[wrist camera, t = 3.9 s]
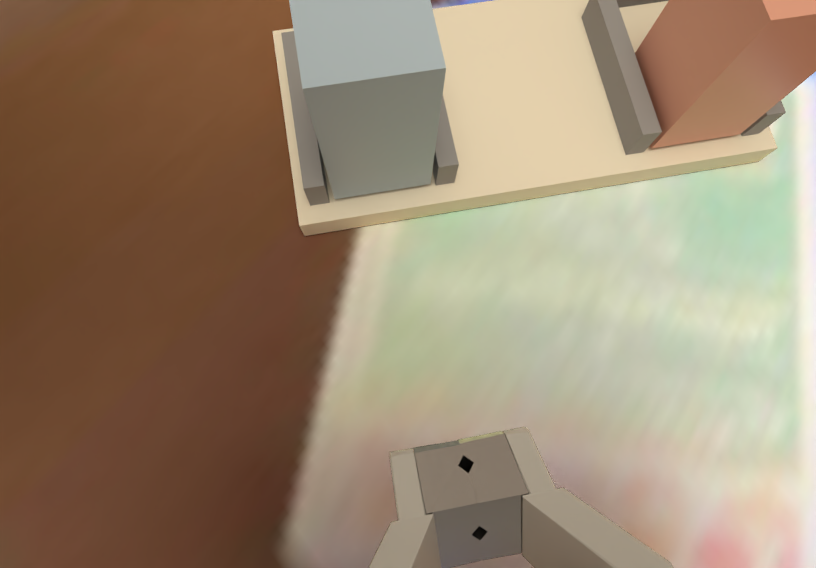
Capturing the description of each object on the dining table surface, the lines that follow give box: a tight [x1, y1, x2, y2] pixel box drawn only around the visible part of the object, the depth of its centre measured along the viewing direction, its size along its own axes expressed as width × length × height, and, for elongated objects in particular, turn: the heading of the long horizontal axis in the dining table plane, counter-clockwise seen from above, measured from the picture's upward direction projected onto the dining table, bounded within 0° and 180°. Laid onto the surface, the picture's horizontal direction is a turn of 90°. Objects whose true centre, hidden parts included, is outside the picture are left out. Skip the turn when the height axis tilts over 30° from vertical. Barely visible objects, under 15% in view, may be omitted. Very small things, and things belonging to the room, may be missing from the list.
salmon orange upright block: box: [635, 0, 816, 148], centre depth 24 cm, size 5×5×9 cm
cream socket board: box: [273, 0, 786, 236], centre depth 28 cm, size 12×26×4 cm, turn 100°
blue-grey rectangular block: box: [289, 0, 446, 199], centre depth 22 cm, size 5×5×9 cm
